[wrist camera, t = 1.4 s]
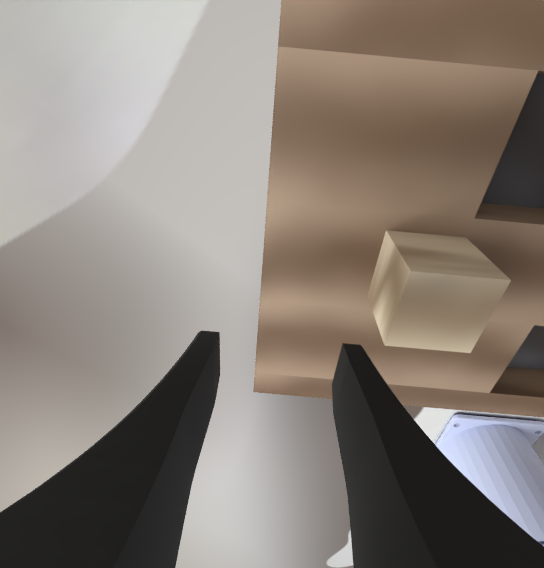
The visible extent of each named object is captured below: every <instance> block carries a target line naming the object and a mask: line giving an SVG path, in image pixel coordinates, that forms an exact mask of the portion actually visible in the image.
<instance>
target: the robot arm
mask: <svg viewBox="0 0 544 568" xmlns="http://www.w3.org/2000/svg"><path fill="white" fill-rule="evenodd" d="M219 342H220V338H219V332H210V331H200V332H199V333H198V334H197V335H196V337H195V338H194V340H193V341H192V343H191V344H190V345H189V347H188V348H187V349H186V351H185V352H184V353H183V355H182V356H181V357H180V358H179V360H178V361H177V362H176V363H175V365H174V366H173V367H172V368H171V369H170V371H169V372H168V373H167V374H166V375H165V377H164V378H163V379H162V380H161V381H160V382H159V383H158V384H157V385H156V386H155V388H154V389H153V390H152V391H151V392H150V393H149V394H148V395H147V396H146V397H145V398H144V399H143V400H142V401H141V402H140V403H139V404H138V405H137V406H136V407H135V408H134V409H133V410H132V411H131V412H130V413H129V414H128V415H127V416H126V417H125V418H124V419H123V420H122V421H121V422H119V424H117V425H116V426H115V427H114V428H113V429H112V430H111V431H109V432H108V433H107V434H106V435H105V436H103V437H102V438H101V439H100V440H99V441H98V442H96V443H95V444H94V445H93V446H92V447H90V448H89V449H88V450H87V451H85V452H84V453H83V454H82V455H80V456H79V457H78V458H77V459H75V460H74V461H73V462H71V463H70V464H69V465H67V466H66V467H65V468H63V469H62V470H60V472H58V473H57V474H55V475H54V476H52V477H51V478H50V479H49V480H47V481H46V482H44V483H43V484H42V485H40V486H39V487H38V488H36V489H35V490H33V491H32V492H30V493H29V494H27V495H26V496H24V497H23V498H21V499H20V500H18V501H17V502H15V503H14V504H13V505H11V506H9V507H8V508H6V509H5V510H3V511H2V512H0V568H175V566H176V561H177V555H178V550H179V545H180V540H181V535H182V529H183V523H184V519H185V514H186V509H187V504H188V499H189V495H190V490H191V484H192V481H193V477H194V473H195V469H196V465H197V462H198V459H199V455H200V452H201V449H202V445H203V442H204V438H205V435H206V432H207V428H208V425H209V422H210V418H211V415H212V411H213V408H214V404H215V399H216V394H217V388H218V383H219V377H220V346H219V345H220V343H219ZM332 399H333V413H334V419H335V425H336V430H337V436H338V442H339V447H340V453H341V459H342V464H343V470H344V475H345V481H346V487H347V494H348V502H349V503H348V504H349V515H350V526H351V538H352V551H353V564H354V568H544V464H543V462H542V461H541V459H540V458H539V456H538V455H537V453H536V452H535V450H534V448H533V447H532V445H533V444H534V443H535V442H536V441H537V439H538V438H539V437H540V436H541V435H542V434H543V433H544V422H541V421H530V420H519V419H507V418H496V417H484V416H473V415H461V414H457V415H454V416H453V417H452V418H451V420H450V421H449V423H448V425H447V426H446V428H445V430H444V431H443V433H442V435H441V436H440V438H439V439H438V441H437V443H436V444H434V443H433V442H432V441H431V440H430V439H429V437H428V436H427V435H426V434H425V433H424V432H423V430H422V429H421V428H420V427H419V426H418V424H417V423H416V422H415V421H414V419H413V418H412V417H411V416H410V414H409V413H408V412H407V411H406V409H405V408H404V407H403V405H402V404H401V403H400V401H399V400H398V399H397V397H396V396H395V394H394V393H393V392H392V390H391V389H390V387H389V386H388V385H387V383H386V382H385V380H384V379H383V377H382V376H381V374H380V373H379V371H378V370H377V368H376V367H375V365H374V364H373V362H372V361H371V359H370V358H369V356H368V355H367V353H366V351H365V350H364V348H363V347H362V346H361V345H358V344H347V343H342V347H341V351H340V355H339V359H338V362H337V366H336V370H335V374H334V378H333V381H332Z"/></svg>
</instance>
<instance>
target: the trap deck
mask: <svg viewBox="0 0 544 568" xmlns="http://www.w3.org/2000/svg"><path fill="white" fill-rule="evenodd" d="M280 15H281V16H280V28H279V29H280V30H279V42H278V56H277V70H276V84H275V98H274V113H273V126H272V140H271V154H270V168H269V182H268V196H267V210H266V224H265V238H264V253H263V266H262V280H261V294H260V308H259V322H258V323H259V324H258V336H257V350H256V364H255V378H254V392H259V393H272V394H282V395H294V396H305V397H318V398H328V399H332V381H333V378H334V374H335V370H336V366H337V362H338V359H339V355H340V351H341V347H342V343H347V344H358V345H361V346H362V347H363V348H364V350H365V351H366V353H367V355H368V356H369V358H370V359H371V361H372V362H373V364H374V365H375V367H376V368H377V370H378V371H379V373H380V374H381V376H382V377H383V379H384V380H385V382H386V383H387V385H388V386H389V387H390V389H391V390H392V392H393V393H394V394H395V396H396V397H397V399H398V400H399V401H400V403H401V404H402V405H409V406H421V407H432V408H443V409H455V410H466V411H478V412H489V413H501V414H512V415H524V416H535V417H544V1H542V0H282V1H281V14H280ZM386 230H389V231H400V232H411V233H422V234H433V235H444V236H455V237H466V238H467V239H468V240H469V241H470V242H471V243H472V244H473V245H474V246H476V247H477V248H478V249H479V250H480V251H481V252H482V253H483V254H484V255H485V256H486V257H487V258H488V259H489V260H490V261H491V262H492V263H494V264H495V265H496V266H497V267H498V268H499V269H500V270H501V271H502V272H503V273H504V274H505V275H506V276H507V277H508V278H509V279H510V280H511V282H510V283H509V285H508V287H507V289H506V291H505V292H504V294H503V296H502V298H501V299H500V301H499V303H498V305H497V307H496V308H495V310H494V312H493V314H492V316H491V317H490V319H489V321H488V323H487V325H486V326H485V328H484V330H483V332H482V333H481V335H480V337H479V339H478V341H477V342H476V344H475V346H474V348H473V350H472V351H471V353H463V352H452V351H440V350H429V349H418V348H406V347H395V346H384V343H383V340H382V337H381V334H380V331H379V328H378V326H377V323H376V320H375V317H374V314H373V311H372V308H371V305H370V302H369V300H368V297H367V295H368V292H369V288H370V285H371V281H372V278H373V274H374V271H375V267H376V264H377V260H378V257H379V253H380V250H381V246H382V243H383V239H384V236H385V232H386Z"/></svg>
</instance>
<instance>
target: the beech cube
mask: <svg viewBox="0 0 544 568" xmlns="http://www.w3.org/2000/svg"><path fill="white" fill-rule="evenodd" d="M510 282H511V280H510V279H509V278H508V277H507V276H506V275H505V274H504V273H503V272H502V271H501V270H500V269H499V268H498V267H497V266H496V265H495V264H494V263H492V262H491V261H490V260H489V259H488V258H487V257H486V256H485V255H484V254H483V253H482V252H481V251H480V250H479V249H478V248H477V247H476V246H474V245H473V244H472V243H471V242H470V241H469V240H468V239H467V238H466V237H455V236H444V235H433V234H422V233H411V232H400V231H389V230H386V232H385V236H384V239H383V243H382V246H381V250H380V253H379V257H378V260H377V264H376V267H375V271H374V274H373V278H372V281H371V285H370V288H369V292H368V295H367V297H368V300H369V302H370V305H371V308H372V311H373V314H374V317H375V320H376V323H377V326H378V328H379V331H380V334H381V337H382V340H383V343H384V346H395V347H406V348H418V349H429V350H440V351H452V352H463V353H471V351H472V350H473V348H474V346H475V344H476V342H477V341H478V339H479V337H480V335H481V333H482V332H483V330H484V328H485V326H486V325H487V323H488V321H489V319H490V317H491V316H492V314H493V312H494V310H495V308H496V307H497V305H498V303H499V301H500V299H501V298H502V296H503V294H504V292H505V291H506V289H507V287H508V285H509V283H510Z"/></svg>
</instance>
